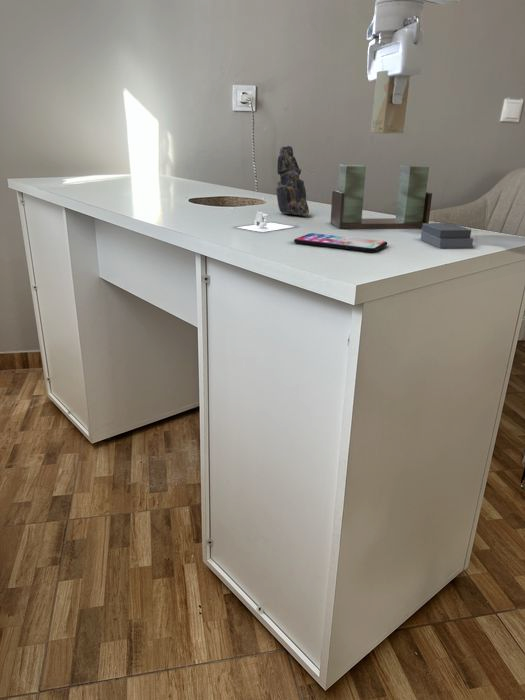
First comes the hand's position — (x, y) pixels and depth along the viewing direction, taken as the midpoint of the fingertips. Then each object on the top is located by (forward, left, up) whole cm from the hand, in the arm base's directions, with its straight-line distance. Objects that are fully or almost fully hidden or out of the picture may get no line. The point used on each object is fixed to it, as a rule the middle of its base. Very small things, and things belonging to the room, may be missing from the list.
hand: (390, 105), depth 108 cm
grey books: (-5, +20, -23) cm, 31 cm away
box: (0, 0, -5) cm, 5 cm away
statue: (+15, -17, -24) cm, 33 cm away
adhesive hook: (+24, +1, -24) cm, 34 cm away
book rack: (0, 0, -23) cm, 23 cm away
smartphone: (+14, +20, -23) cm, 34 cm away
